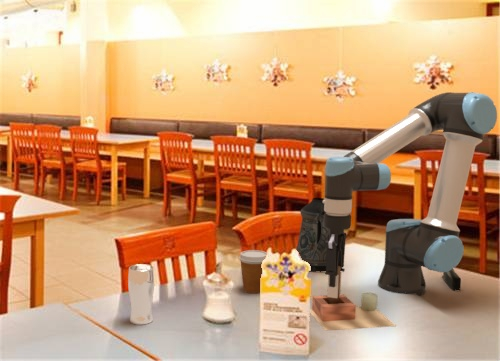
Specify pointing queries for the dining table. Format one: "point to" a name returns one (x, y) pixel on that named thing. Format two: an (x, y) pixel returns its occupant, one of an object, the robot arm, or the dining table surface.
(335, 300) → the brown wooden cylinder
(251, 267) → the disposable coffee cup
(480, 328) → the dining table surface
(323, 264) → the beer stein
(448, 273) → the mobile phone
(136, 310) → the beer glass
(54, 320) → the dining table surface
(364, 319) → the board
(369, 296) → the loose bead
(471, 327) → the dining table surface
